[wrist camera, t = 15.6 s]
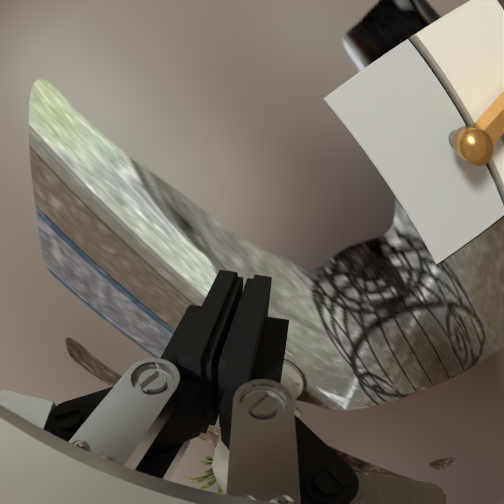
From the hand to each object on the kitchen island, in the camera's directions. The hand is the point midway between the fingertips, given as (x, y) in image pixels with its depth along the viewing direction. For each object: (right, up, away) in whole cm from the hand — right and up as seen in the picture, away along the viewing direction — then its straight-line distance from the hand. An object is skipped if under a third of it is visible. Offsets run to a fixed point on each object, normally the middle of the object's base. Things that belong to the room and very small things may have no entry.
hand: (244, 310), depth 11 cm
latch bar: (+25, +16, +14) cm, 33 cm away
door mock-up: (+25, +16, +18) cm, 35 cm away
